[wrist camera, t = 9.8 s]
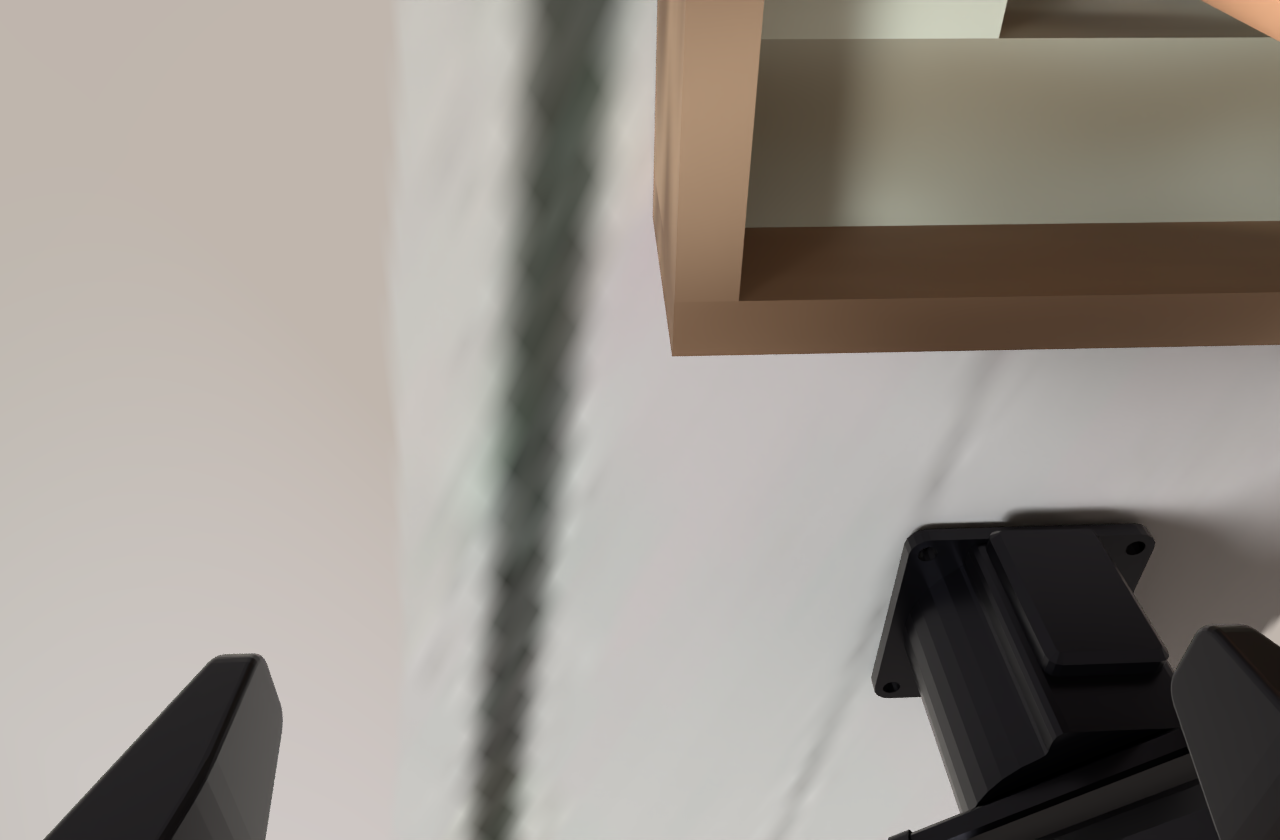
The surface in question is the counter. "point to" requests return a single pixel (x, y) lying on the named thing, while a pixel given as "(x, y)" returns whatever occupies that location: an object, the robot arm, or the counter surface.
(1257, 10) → the peg
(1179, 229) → the bore box
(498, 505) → the counter surface
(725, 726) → the counter surface
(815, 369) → the counter surface
